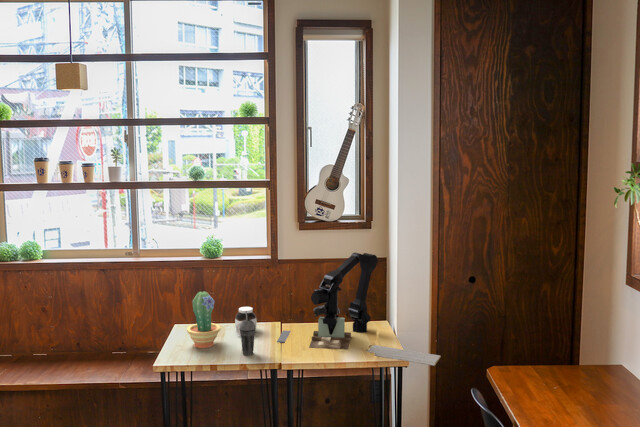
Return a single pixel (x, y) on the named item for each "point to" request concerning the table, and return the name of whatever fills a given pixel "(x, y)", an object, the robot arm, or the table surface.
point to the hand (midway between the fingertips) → (331, 332)
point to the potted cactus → (203, 321)
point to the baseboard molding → (404, 355)
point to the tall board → (338, 329)
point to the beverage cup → (247, 336)
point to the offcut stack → (329, 343)
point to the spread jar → (244, 317)
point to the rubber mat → (283, 336)
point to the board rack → (343, 341)
